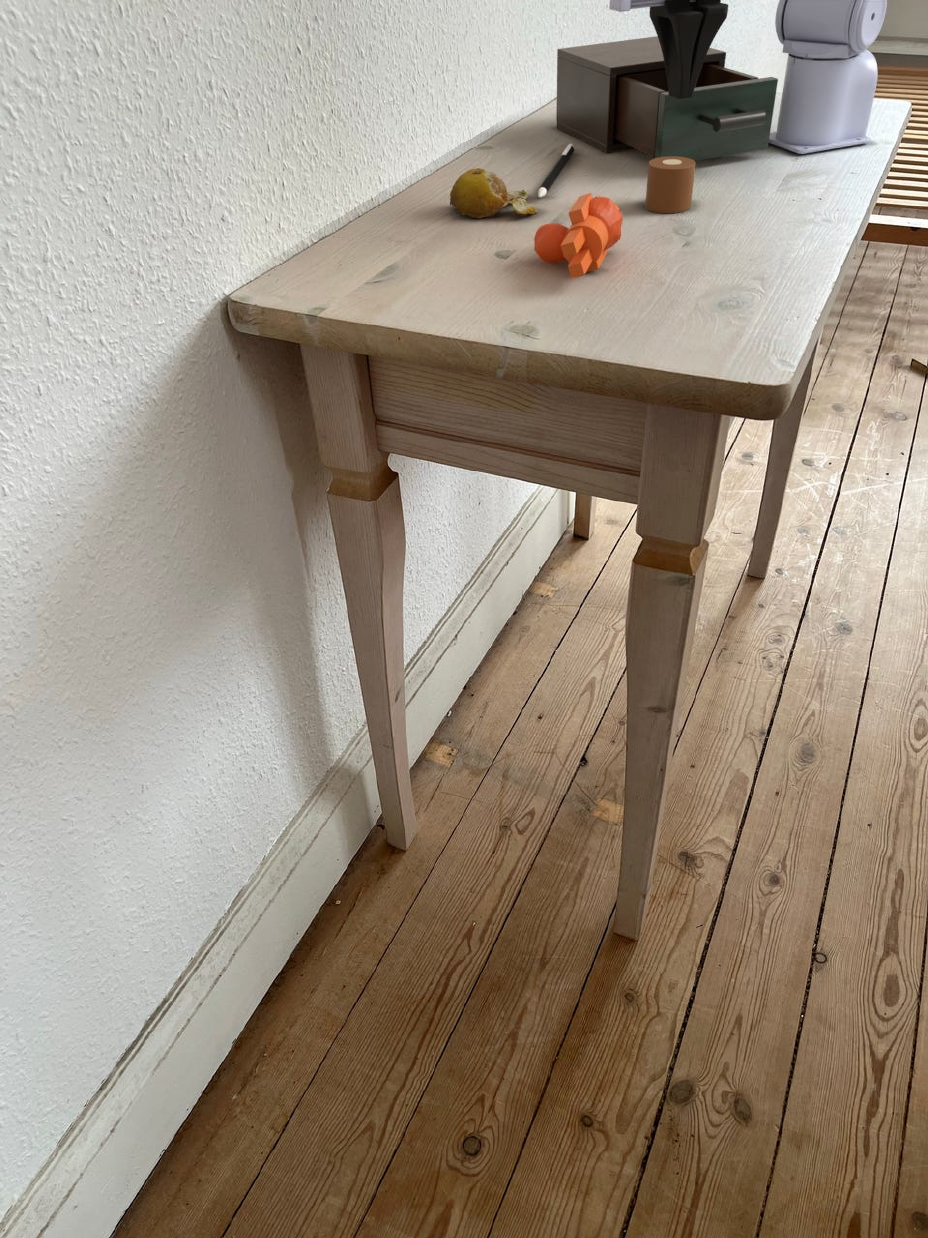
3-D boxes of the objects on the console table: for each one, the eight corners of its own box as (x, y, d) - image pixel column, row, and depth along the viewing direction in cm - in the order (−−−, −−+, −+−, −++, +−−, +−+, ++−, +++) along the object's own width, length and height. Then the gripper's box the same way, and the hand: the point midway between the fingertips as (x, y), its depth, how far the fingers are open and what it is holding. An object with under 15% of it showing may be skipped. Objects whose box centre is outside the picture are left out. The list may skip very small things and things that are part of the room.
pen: (576, 150, 108) (576, 139, 108) (543, 201, 94) (543, 189, 94) (568, 150, 108) (569, 139, 108) (534, 201, 95) (534, 189, 94)
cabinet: (716, 135, 111) (726, 51, 105) (606, 153, 107) (610, 67, 102) (659, 112, 121) (665, 34, 115) (556, 128, 117) (557, 48, 112)
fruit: (540, 218, 91) (540, 178, 88) (456, 226, 90) (453, 186, 88) (524, 193, 97) (524, 155, 95) (445, 201, 96) (442, 162, 94)
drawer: (791, 158, 99) (803, 85, 95) (680, 176, 96) (688, 102, 92) (706, 124, 111) (713, 59, 107) (605, 140, 108) (608, 73, 104)
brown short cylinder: (676, 196, 94) (680, 152, 91) (699, 208, 91) (704, 163, 88) (637, 203, 93) (640, 159, 90) (659, 215, 90) (663, 170, 87)
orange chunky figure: (595, 218, 72) (622, 174, 81) (507, 245, 76) (542, 200, 84) (612, 281, 75) (637, 232, 84) (527, 304, 78) (558, 255, 87)
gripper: (745, -98, 82) (724, 78, 91) (596, -85, 78) (589, 97, 87) (794, -95, 77) (767, 92, 86) (637, -81, 73) (625, 112, 82)
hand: (680, 96), depth 86 cm, fingers closed
